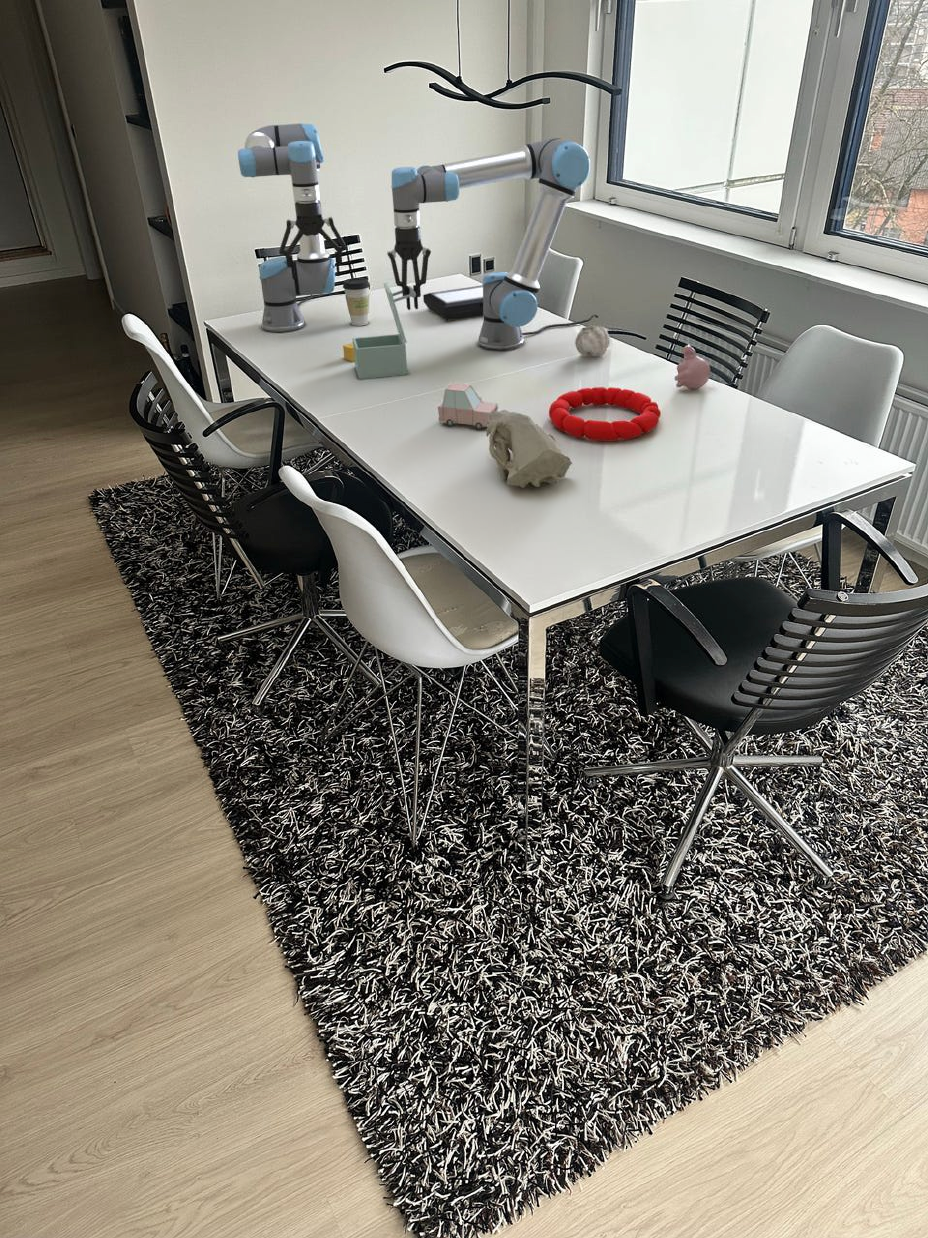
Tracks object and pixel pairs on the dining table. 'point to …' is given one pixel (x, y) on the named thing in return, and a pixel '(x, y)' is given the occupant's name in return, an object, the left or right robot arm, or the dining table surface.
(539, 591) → the dining table surface
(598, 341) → the seashell
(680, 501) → the dining table surface
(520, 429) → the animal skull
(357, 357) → the chest
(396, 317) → the lid
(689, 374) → the figurine
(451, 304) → the electronic device
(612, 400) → the decorative ring
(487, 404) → the toy car
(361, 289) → the coffee cup
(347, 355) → the block
